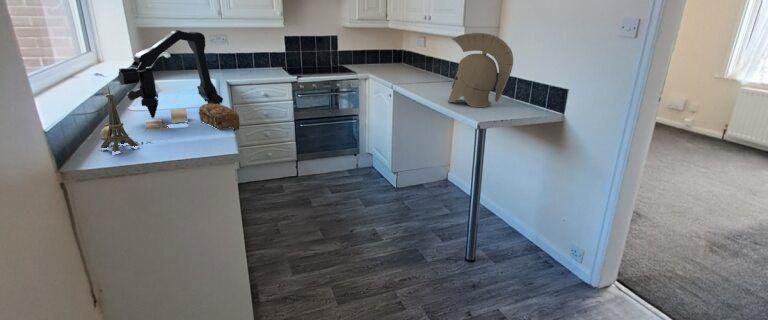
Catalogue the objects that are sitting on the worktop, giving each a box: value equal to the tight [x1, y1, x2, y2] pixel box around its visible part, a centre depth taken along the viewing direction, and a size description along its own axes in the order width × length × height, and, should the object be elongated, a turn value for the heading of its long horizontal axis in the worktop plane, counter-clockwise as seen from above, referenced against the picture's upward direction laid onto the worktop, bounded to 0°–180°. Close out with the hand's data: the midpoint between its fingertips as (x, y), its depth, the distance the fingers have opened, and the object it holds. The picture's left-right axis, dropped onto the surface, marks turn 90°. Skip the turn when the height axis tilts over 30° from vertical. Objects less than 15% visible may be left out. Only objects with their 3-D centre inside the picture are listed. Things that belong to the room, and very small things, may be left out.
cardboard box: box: [144, 123, 174, 132], centre depth 188 cm, size 9×17×2 cm, turn 116°
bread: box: [198, 103, 241, 131], centre depth 193 cm, size 19×11×10 cm, turn 45°
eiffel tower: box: [99, 82, 139, 152], centre depth 159 cm, size 11×11×25 cm
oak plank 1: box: [144, 118, 163, 126], centre depth 193 cm, size 8×6×2 cm
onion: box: [100, 123, 122, 140], centre depth 171 cm, size 8×8×7 cm
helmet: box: [447, 32, 514, 108], centre depth 246 cm, size 20×36×40 cm, turn 64°
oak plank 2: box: [170, 108, 189, 124], centre depth 196 cm, size 8×6×2 cm
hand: (153, 117), depth 194 cm, fingers closed
